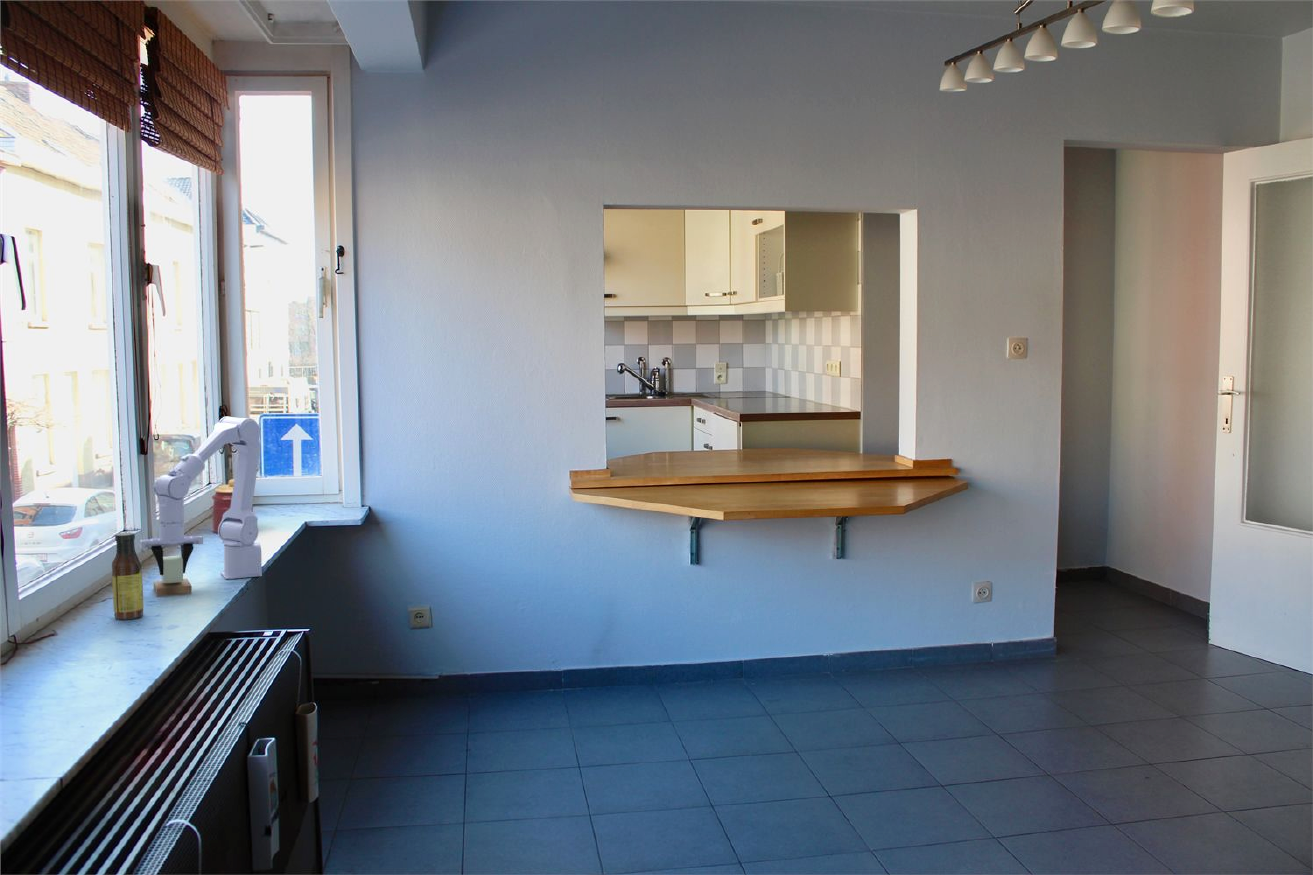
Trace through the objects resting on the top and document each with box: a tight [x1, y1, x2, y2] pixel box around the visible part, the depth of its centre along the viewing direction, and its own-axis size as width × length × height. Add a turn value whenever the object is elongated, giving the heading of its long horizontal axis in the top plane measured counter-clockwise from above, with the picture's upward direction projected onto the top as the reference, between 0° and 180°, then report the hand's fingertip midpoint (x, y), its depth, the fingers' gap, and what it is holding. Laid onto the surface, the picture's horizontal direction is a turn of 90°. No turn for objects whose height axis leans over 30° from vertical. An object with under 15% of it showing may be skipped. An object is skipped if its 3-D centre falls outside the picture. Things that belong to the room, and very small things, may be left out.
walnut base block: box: [153, 578, 192, 597], centre depth 260 cm, size 8×8×2 cm
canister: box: [211, 478, 254, 534], centre depth 340 cm, size 13×13×18 cm
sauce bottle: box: [111, 531, 144, 620], centre depth 235 cm, size 6×6×20 cm
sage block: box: [161, 555, 184, 583], centre depth 260 cm, size 4×4×6 cm
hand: (172, 573), depth 260 cm, fingers closed on sage block, 4 cm apart
